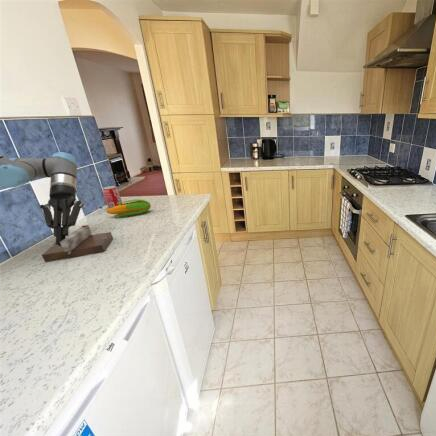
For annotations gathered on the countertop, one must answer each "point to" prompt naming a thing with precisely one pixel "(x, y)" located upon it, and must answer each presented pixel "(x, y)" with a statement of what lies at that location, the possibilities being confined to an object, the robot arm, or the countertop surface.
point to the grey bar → (75, 238)
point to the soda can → (111, 196)
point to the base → (80, 248)
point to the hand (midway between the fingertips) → (60, 244)
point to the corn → (130, 208)
